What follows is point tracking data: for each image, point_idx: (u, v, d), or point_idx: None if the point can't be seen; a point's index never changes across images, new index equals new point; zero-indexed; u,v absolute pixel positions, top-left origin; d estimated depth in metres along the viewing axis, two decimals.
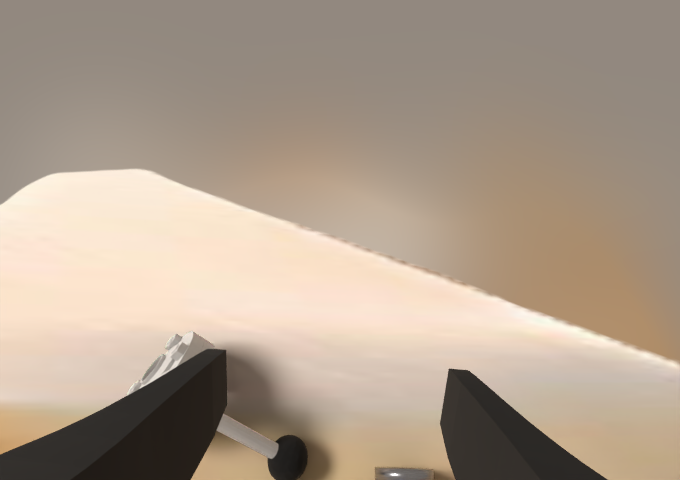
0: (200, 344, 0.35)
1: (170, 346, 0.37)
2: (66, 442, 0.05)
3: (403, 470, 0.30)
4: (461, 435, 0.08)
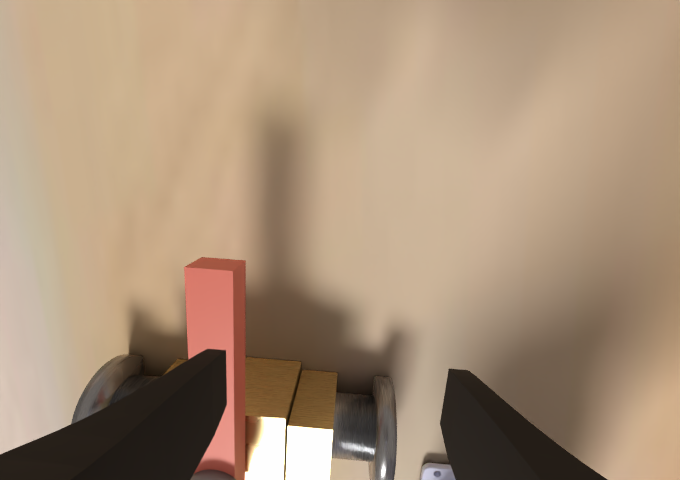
0: None
1: None
2: (67, 441, 0.05)
3: None
4: (461, 435, 0.08)
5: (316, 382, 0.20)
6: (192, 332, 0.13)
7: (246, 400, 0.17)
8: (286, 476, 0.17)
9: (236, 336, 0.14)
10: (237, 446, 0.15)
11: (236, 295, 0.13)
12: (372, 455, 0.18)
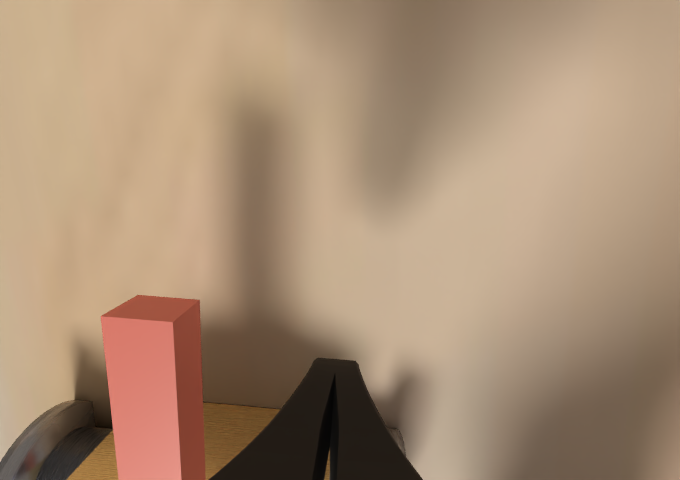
0: None
1: None
2: (266, 459, 0.05)
3: None
4: (332, 423, 0.09)
5: None
6: (118, 408, 0.09)
7: (212, 475, 0.13)
8: None
9: (185, 410, 0.09)
10: None
11: (182, 354, 0.09)
12: None
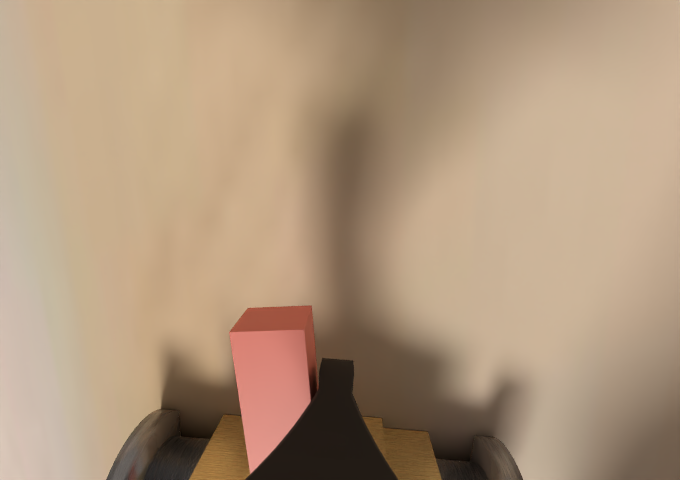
0: None
1: None
2: (297, 463, 0.05)
3: None
4: None
5: (406, 448, 0.15)
6: (251, 425, 0.09)
7: None
8: None
9: None
10: None
11: (310, 362, 0.09)
12: None
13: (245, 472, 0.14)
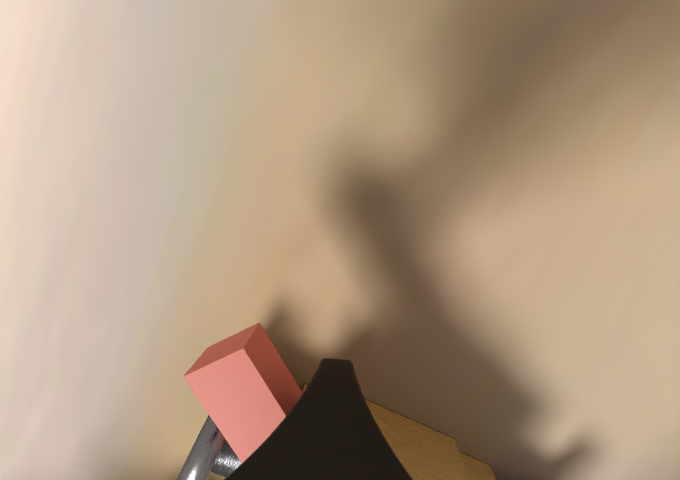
0: None
1: None
2: (279, 461, 0.05)
3: None
4: None
5: (476, 476, 0.16)
6: (243, 452, 0.09)
7: None
8: None
9: None
10: None
11: (270, 375, 0.09)
12: None
13: None
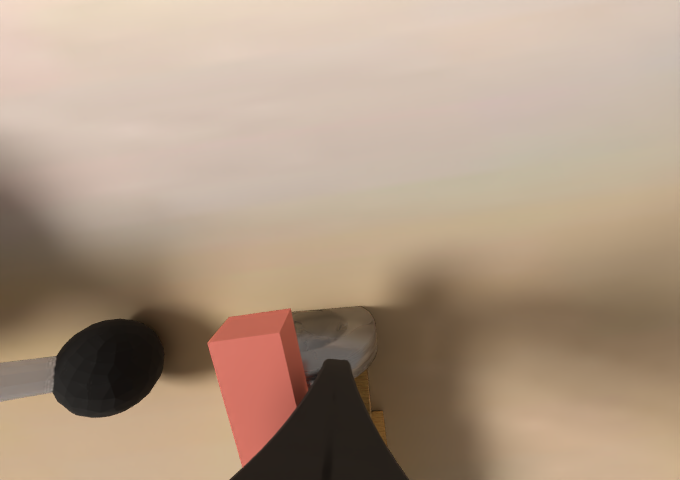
0: None
1: None
2: (284, 462, 0.05)
3: None
4: None
5: None
6: (240, 432, 0.09)
7: None
8: None
9: None
10: None
11: (291, 365, 0.09)
12: None
13: None
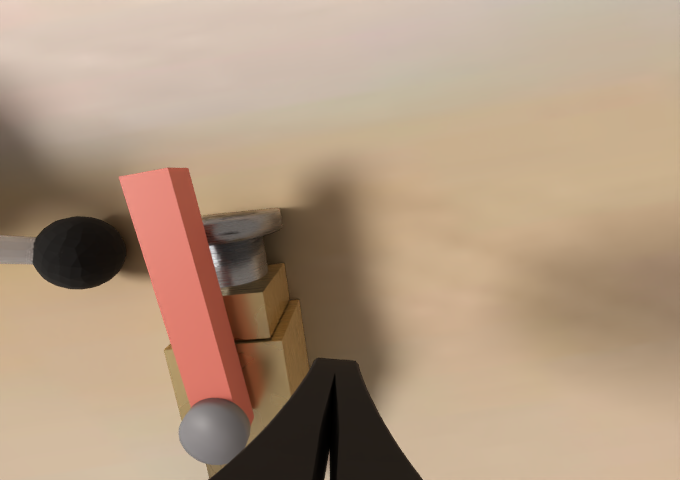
0: None
1: None
2: (266, 460, 0.05)
3: None
4: (332, 423, 0.09)
5: None
6: (146, 248, 0.12)
7: None
8: None
9: (194, 244, 0.13)
10: (229, 369, 0.14)
11: (182, 199, 0.12)
12: None
13: (277, 319, 0.17)
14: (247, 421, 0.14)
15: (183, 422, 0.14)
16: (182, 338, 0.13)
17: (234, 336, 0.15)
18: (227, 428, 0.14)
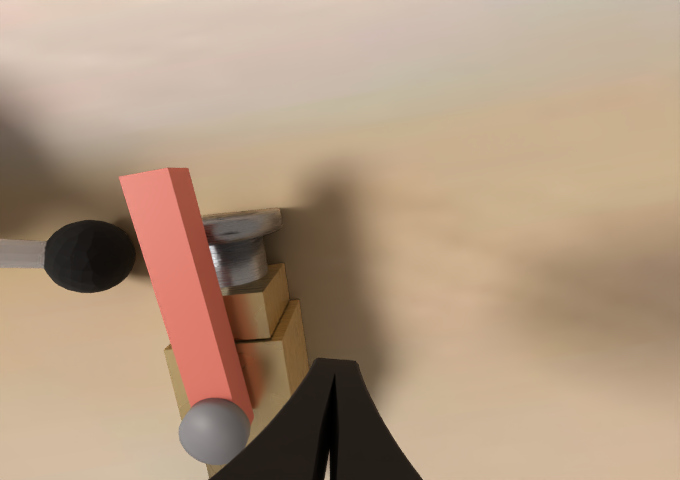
0: None
1: None
2: (266, 459, 0.05)
3: None
4: (332, 423, 0.09)
5: None
6: (146, 248, 0.13)
7: None
8: None
9: (194, 244, 0.13)
10: (229, 369, 0.14)
11: (182, 199, 0.12)
12: None
13: (277, 319, 0.17)
14: (247, 421, 0.14)
15: (183, 422, 0.14)
16: (182, 338, 0.13)
17: (234, 336, 0.15)
18: (227, 428, 0.14)
